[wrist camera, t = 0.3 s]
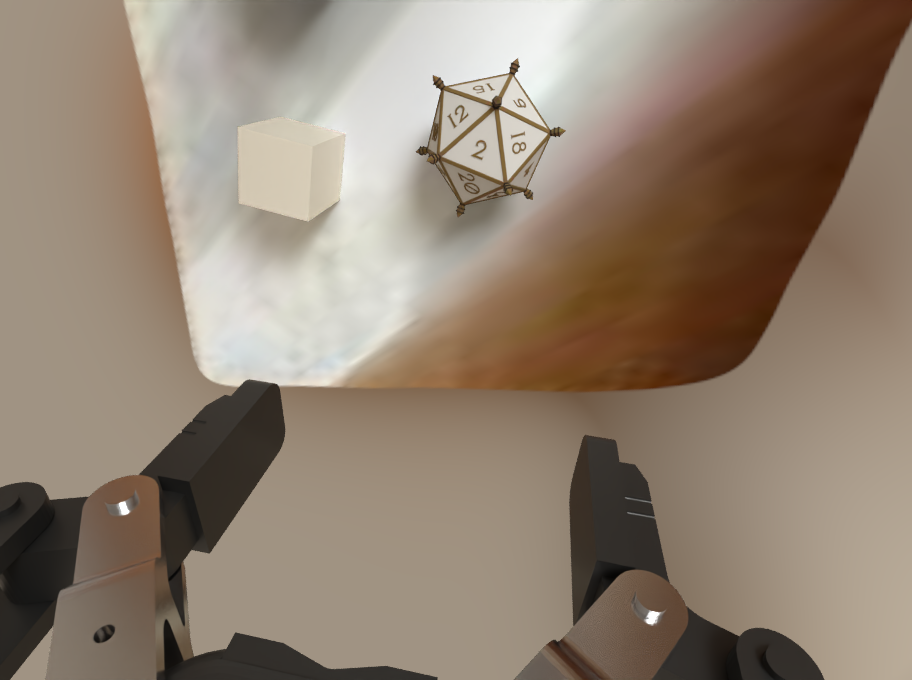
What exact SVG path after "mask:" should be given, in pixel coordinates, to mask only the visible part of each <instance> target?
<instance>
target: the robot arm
mask: <svg viewBox="0 0 912 680" xmlns="http://www.w3.org/2000/svg"><path fill="white" fill-rule="evenodd" d="M284 437H285V423H284V416H283V409H282V402H281V395H280V389H279V386H278V385H277V384H274V383H268V382H262V381H256V380H246V381H245V382H244V383H243V384H242V385H241V386H240V387H239V388H238V389H237V390H236V391H235V392H234V393H233V395H232V396H228V395H224V396H222V397H221V398H219V399H217V400H215V401H213V402H212V403H210V404H208V405H206V406H205V407H204V408H203V409H202V410H201V411H200V412H199V413H198V414H197V415H196V417H195V418H194V419H193V421H192V422H190V423H189V424H188V425H187V426H186V427H185V428H184V429H183V430H182V433H179V434H178V435H177V436H176V437H175V438H174V439H173V440H172V441H171V442H170V443H169V444H168V446H166V447H165V448H164V449H163V450H162V452H161V453H160V454H159V455H158V456H157V457H156V458H155V459H154V460H153V461H152V462H151V463H150V464H149V465H148V466H147V467H146V468H145V469H144V470H143V471H142V472H141V473H140V474H139V475H130V476H125V477H121V478H117V479H115V480H112V481H110V482H108V483H106V484H104V485H103V486H101V487H100V488H98V489H97V490H96V491H94V492H93V493H92V494H91V495H90V496H89V497H80V498H68V499H57V500H49V497H48V495H47V493H46V491H45V489H44V488H43V487H42V486H41V485H39V484H35V483H30V482H22V483H15V484H11V485H6V486H4V487H1V488H0V680H10V679H11V678H12V676H13V675H14V674H15V673H16V671H17V670H18V669H19V668H20V666H21V665H22V664H23V663H24V661H25V660H26V659H27V657H28V656H29V655H30V654H31V653H32V651H33V650H34V649H35V648H36V646H37V645H38V644H39V643H40V641H41V640H42V639H43V638H44V636H45V635H46V634H47V633H48V631H49V630H50V629H51V628H52V626H53V632H52V639H51V646H50V653H49V659H48V666H47V673H46V680H437V677H433V676H429V675H424V674H420V673H415V672H411V671H406V670H402V669H397V668H393V667H388V666H378V667H364V668H347V669H328V668H325V667H323V666H322V665H320V664H318V663H316V662H315V661H313V660H311V659H309V658H308V657H306V656H304V655H303V654H301V653H299V652H298V651H296V650H294V649H292V648H291V647H289V646H287V645H286V644H284V643H280V642H276V641H271V640H267V639H262V638H258V637H253V636H249V635H244V634H240V633H235V634H234V636H233V638H232V640H231V642H230V644H229V645H228V647H227V649H223V650H217V651H212V652H208V653H204V654H201V655H198V656H195V657H194V654H193V650H192V645H191V638H190V629H189V615H188V601H187V588H186V575H185V566H184V562H183V560H184V559H185V558H186V557H187V555H188V554H189V552H190V551H191V550H195V551H200V552H205V553H210V552H211V551H212V549H213V548H214V546H215V545H216V543H217V542H218V541H219V539H220V538H221V536H222V535H223V533H224V532H225V530H226V529H227V527H228V526H229V524H230V523H231V522H232V520H233V519H234V517H235V516H236V514H237V513H238V511H239V510H240V508H241V507H242V505H243V504H244V502H245V501H246V500H247V498H248V497H249V495H250V494H251V492H252V490H253V489H254V488H255V486H256V485H257V483H258V482H259V480H260V479H261V478H262V476H263V475H264V473H265V472H266V470H267V469H268V467H269V466H270V464H271V463H272V461H273V460H274V458H275V457H276V456H277V454H278V452H279V451H280V449H281V447H282V444H283V441H284ZM569 503H570V505H569V506H570V537H571V567H572V600H573V627H572V629H571V630H570V631H569V632H568V633H567V634H566V635H565V636H564V637H563V638H562V639H561V640H560V641H558V642H557V641H556V640H552V641H551V642H549V643H548V644H547V645H546V646H544V647H543V648H542V649H541V651H540V652H539V653H538V654H537V655H536V656H535V657H534V658H533V659H532V660H531V661H530V663H529V664H528V665H527V666H526V667H525V668H524V669H523V670H522V671H521V673H520V674H519V675H518V676H517V677H516V678H515V679H514V680H824V678H823V675H822V673H821V671H820V670H819V668H818V666H817V665H816V664H815V662H814V661H813V660H812V658H811V657H810V656H809V655H808V654H807V653H806V652H805V651H804V650H803V649H802V648H801V647H800V646H799V645H797V644H796V643H795V642H793V641H792V640H791V639H789V638H787V637H786V636H784V635H782V634H780V633H777V632H776V631H772V630H769V629H764V628H753V629H749V630H747V631H745V632H743V633H742V634H741V636H740V637H739V636H737V635H735V634H733V633H731V632H729V631H727V630H725V629H723V628H721V627H719V626H717V625H715V624H713V623H711V622H709V621H707V620H705V619H703V618H702V617H700V616H698V615H697V614H696V613H694V612H693V611H692V610H690V609H689V608H688V607H687V606H686V604H685V602H684V600H683V598H682V597H681V595H680V594H679V592H678V591H677V590H676V589H675V588H674V587H673V586H672V585H671V584H670V582H669V579H668V576H667V572H666V567H665V563H664V558H663V553H662V549H661V544H660V539H659V534H658V529H657V525H656V520H655V519H654V516H655V515H654V511H653V506H652V504H651V496H650V492H649V487H648V482H647V481H646V479H645V478H644V477H643V475H642V474H641V472H640V471H639V470H638V468H637V467H636V465H634V464H628V463H621V462H619V456H618V450H617V444H616V441H615V440H612V439H606V438H600V437H594V436H588V435H585V436H584V437H583V440H582V443H581V447H580V451H579V455H578V458H577V462H576V466H575V470H574V474H573V478H572V482H571V489H570V502H569Z"/></svg>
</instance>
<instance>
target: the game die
mask: <svg viewBox="0 0 912 680" xmlns="http://www.w3.org/2000/svg"><path fill="white" fill-rule="evenodd" d="M519 67H520V66H519V62H518V58H517V59H516V60H515V61H514V62H513V63H511V67H510V72H509V73H508V74H503V75H498V76H493V77H488V78H484V79H479V80H474V81H469V82H464V83H459V84H454V85H449V86H444V84H443V81H442V80H441V78H439V77H436V76H434V75H433V81H434V84H433V85H435V86H436V88H439V89H440V90H441V93H440V97H439V101H438V105H437V109H436V113H435V117H434V122H433V126H432V130H431V134H430V138H429V142H428V147H427V148H426V147H424V146H423V147H421V146H420V148H419V149H418V150H417V151H416V152H417V153H419V154H420V155H423V154H424V155H426V154H427V153H428V154H429V155H430V156H428V157H429V158H428V160H427V161H428V162H430V163H431V164H434V163H435V165H436V166H437V168H438V169H439V171H440V172H441V174H442V175H443V177H444V178H445V180H446V182H447V183H448V185H449V186H450V188H451V189H452V191H453V192H454V194H455V196H456V197H457V199H458V200H459V202H460V205H459V206H457V207H458V208H457V210H456V211H457V216H458V217H459V216H460V215H462V214H464V210H465V205H467V204H472V203H476V202H481V201H485V200H489V199H494V198H498V197H503V196H507V195H511V194H516V193H520V192H524V196H526V198H527V199H531V200H533V192H531V190H528V189H527V187H528V185H529V182H530V180H531V178H532V176H533V174H534V171H535V169H536V167H537V165H538V163H539V160H540V158H541V156H542V154H543V152H544V149H545V147H546V145H547V143H548V141H549V138H550V136H555V137H556V136H559V137H560V135H561V134H563V133H564V132H565V131H566V130H563V129H561V128H560V127H558V128H554V129H552V130H550V129H549V127H548V126H547V124H546V123H545V121H544V120H543V118H542V117H541V115H540V114H539V112H538V110H537V109H536V107H535V106H534V104H533V103H532V101H531V100H530V98H529V97H528V95H527V94H526V92H525V91H524V89H523V88H522V86H521V85H520V83H519V82H518V80H517V79H516V77H515V73H516V72H518V68H519Z"/></svg>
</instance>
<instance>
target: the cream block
mask: <svg viewBox="0 0 912 680" xmlns="http://www.w3.org/2000/svg"><path fill="white" fill-rule="evenodd" d="M345 137H346V133H342V132H338V131H334V130H330V129H326V128H323V127H319V126H315V125H311V124H307V123H303V122H299V121H296V120H292V119H288V118H284V117H277V118H273V119H269V120H264V121H260V122H256V123H252V124H247V125H243V126H239V127H238V194H239V204H243V205H247V206H251V207H254V208H258V209H262V210H266V211H270V212H273V213H277V214H281V215H285V216H288V217H292V218H296V219H300V220H303V221H307V222H309V221H310V220H311V219H313V218H314V217H316V216H317V215H319V214H320V213H322V212H323V211H325V210H326V209H327V208H329V207H330V206H332V205H333V204H335V203H336V202H338V201H339V200H340V192H341V181H342V170H343V159H344V148H345Z"/></svg>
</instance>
